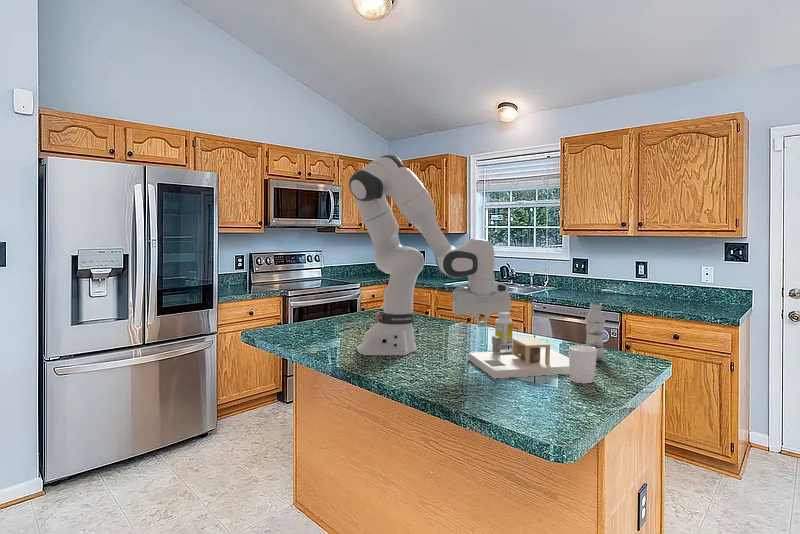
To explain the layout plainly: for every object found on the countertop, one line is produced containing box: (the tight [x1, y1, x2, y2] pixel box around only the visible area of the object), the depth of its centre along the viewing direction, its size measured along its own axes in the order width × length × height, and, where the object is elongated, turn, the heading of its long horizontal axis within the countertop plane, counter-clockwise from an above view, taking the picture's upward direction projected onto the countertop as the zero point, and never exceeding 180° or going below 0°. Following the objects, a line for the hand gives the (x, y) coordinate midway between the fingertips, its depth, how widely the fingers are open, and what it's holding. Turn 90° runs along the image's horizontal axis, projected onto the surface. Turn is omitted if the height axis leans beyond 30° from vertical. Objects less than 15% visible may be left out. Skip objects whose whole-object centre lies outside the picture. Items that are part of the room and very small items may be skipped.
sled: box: [491, 335, 541, 362], centre depth 160 cm, size 10×15×6 cm
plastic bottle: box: [585, 302, 606, 362], centre depth 166 cm, size 6×7×20 cm
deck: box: [468, 337, 570, 380], centre depth 158 cm, size 31×22×9 cm
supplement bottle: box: [494, 312, 514, 347], centre depth 189 cm, size 7×7×13 cm
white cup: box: [568, 344, 597, 385], centre depth 143 cm, size 8×8×10 cm
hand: (481, 326), depth 163 cm, fingers closed
